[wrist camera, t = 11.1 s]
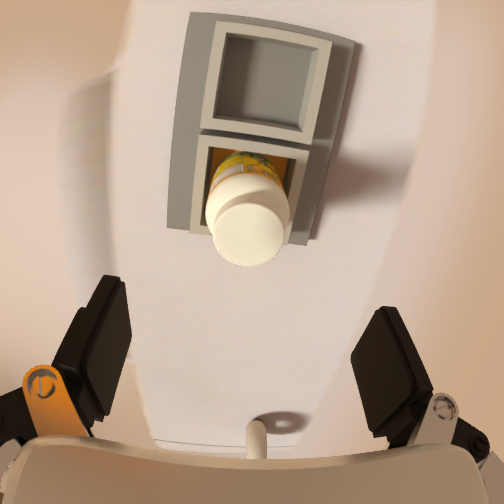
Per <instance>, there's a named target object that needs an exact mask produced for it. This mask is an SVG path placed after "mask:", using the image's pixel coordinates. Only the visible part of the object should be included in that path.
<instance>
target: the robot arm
mask: <svg viewBox="0 0 504 504" xmlns="http://www.w3.org/2000/svg"><path fill="white" fill-rule="evenodd" d="M131 338H132V331H131V325H130V318H129V311H128V304H127V296H126V288H125V283H124V282H122V281H121V280H120V277H117V276H110V275H103V277H102V278H101V280H100V282H99V284H98V286H97V288H96V289H95V291H94V293H93V295H92V297H91V299H90V301H89V303H88V304H87V306H86V308H85V307H81V308H79V310H78V311H77V313H76V315H75V317H74V319H73V321H72V323H71V325H70V327H69V329H68V331H67V333H66V335H65V337H64V339H63V341H62V343H61V345H60V347H59V349H58V351H57V353H56V356H55V358H54V360H53V362H52V364H51V366H49V365H38V366H35V367H33V368H31V369H30V370H29V371H28V372H27V373H26V375H25V377H24V379H23V384H22V386H23V387H20V388H18V389H16V390H14V391H11V392H9V393H7V394H4V395H3V396H0V482H1V477H2V475H3V474H4V473H5V472H6V471H7V470H8V467H7V466H8V465H9V464H10V463H11V462H12V461H14V463H13V466H12V468H11V471H10V474H9V477H8V480H7V483H6V487H5V492H3V490H2V488H1V483H0V504H504V463H503V462H502V461H501V460H500V459H499V458H498V456H497V455H496V454H495V453H494V452H493V451H491V452H489V449H490V445H489V441H488V438H487V437H486V435H485V434H484V433H482V432H481V431H479V430H478V429H476V428H475V427H473V426H471V425H470V424H469V423H467V422H465V421H464V420H462V419H461V418H459V417H458V414H459V411H458V406H457V404H456V402H455V401H454V399H453V398H452V397H450V396H449V395H447V394H445V393H436V394H435V395H433V393H432V391H433V390H434V389H433V387H432V384H431V382H430V379H429V377H428V374H427V372H426V370H425V367H424V365H423V363H422V361H421V358H420V356H419V354H418V352H417V350H416V347H415V345H414V343H413V341H412V339H411V337H410V334H409V332H408V330H407V328H406V326H405V324H404V322H403V320H402V318H401V316H400V314H399V312H398V310H397V308H396V307H389V306H382V307H380V308H379V310H376V311H375V313H374V315H373V317H372V318H371V320H370V322H369V324H368V326H367V327H366V329H365V331H364V333H363V335H362V336H361V338H360V340H359V342H358V343H357V345H356V347H355V349H354V350H353V352H352V354H351V364H352V367H353V371H354V374H355V378H356V381H357V385H358V389H359V393H360V396H361V400H362V404H363V408H364V412H365V416H366V420H367V424H368V428H369V430H370V431H371V432H373V437H374V438H377V437H384V436H386V437H387V442H386V444H385V446H384V448H383V450H381V451H374V452H367V453H360V454H352V455H343V456H333V457H320V458H304V459H240V458H222V457H209V456H200V455H191V454H182V453H175V452H169V451H162V450H156V449H150V448H143V447H138V446H133V445H128V444H123V443H118V442H114V441H108V440H103V439H98V438H95V436H94V434H93V432H92V430H91V427H92V426H93V424H94V420H96V421H100V422H103V419H104V415H106V416H108V415H109V414H110V410H111V406H112V403H113V399H114V396H115V392H116V389H117V385H118V382H119V378H120V375H121V371H122V368H123V365H124V362H125V358H126V355H127V352H128V349H129V346H130V342H131Z"/></svg>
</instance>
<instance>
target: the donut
mask: <svg viewBox="0 0 504 504" xmlns="http://www.w3.org/2000/svg"><path fill="white" fill-rule="evenodd" d="M246 459H267V434H266V427H265V425H264V424H263V423H262V422H261V421H257V420H255V421H251V422H250V423H249V424H248V425H247V427H246Z"/></svg>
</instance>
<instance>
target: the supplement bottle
mask: <svg viewBox="0 0 504 504" xmlns="http://www.w3.org/2000/svg"><path fill="white" fill-rule="evenodd" d="M205 215H206V222H207V225H208V228H209V230H210V232H211V233H212V235H213V240H214V244H215V246H216V248H217V250H218V252H219V253H220V254H221V255H222V256H223V257H224V258H225V259H227V260H228V261H230V262H232V263H234V264H237V265H242V266H255V265H260V264H263V263H265V262H267V261H269V260H270V259H272V258H273V257H274V256H275V255H276V254H277V253H278V252H279V251H280V249H281V247H282V245H283V243H284V238H285V230H286V228H287V225H288V222H289V216H290V210H289V204H288V200H287V197H286V194H285V192H284V189H283V186H282V184H281V181H280V179H279V176H278V173H277V171H276V169H275V167H274V165H273V164H272V163H271V162H270V161H269V160H268V159H267V158H265V157H264V156H262V155H259V154H257V153H254V152H248V151H242V152H237V153H234V154H232V155H230V156H228V157H226V158H225V159H224V160H223V161H222V162H221V163H220V164H219V166H218V167H217V169H216V171H215V174H214V177H213V180H212V184H211V188H210V192H209V196H208V199H207V204H206V211H205Z"/></svg>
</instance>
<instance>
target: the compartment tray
mask: <svg viewBox="0 0 504 504" xmlns="http://www.w3.org/2000/svg"><path fill="white" fill-rule="evenodd" d="M354 46H355V41H353V40H350V39H346V38H343V37H340V36H336V35H333V34H329V33H325V32H321V31H318V30H314V29H309V28H305V27H301V26H296V25H292V24H287V23H281V22H276V21H270V20H264V19H258V18H251V17H244V16H235V15H226V14H214V13H198V12H190V16H189V21H188V26H187V32H186V38H185V43H184V49H183V56H182V62H181V69H180V76H179V83H178V91H177V99H176V107H175V116H174V125H173V136H172V147H171V159H170V172H169V188H168V207H167V228H173V229H181V230H189V231H190V233H194V234H202V235H210V236H213V235H212V233H211V232H210V230H209V228H208V225H207V222H206V215H205V211H206V204H207V199H208V196H209V192H210V188H211V184H212V180H213V177H214V174H215V171H216V169H217V167H218V166H219V164H220V163H221V162H222V161H223V160H224V159H225V158H226V157H228V156H230V155H232V154H234V153H237V152H242V151H248V152H254V153H257V154H259V155H262V156H264V157H265V158H267V159H268V160H269V161H270V162H271V163H272V164H273V165H274V167H275V169H276V171H277V173H278V176H279V179H280V181H281V184H282V186H283V189H284V192H285V194H286V197H287V200H288V204H289V210H290V216H289V222H288V225H287V228H286V230H285V238H284V243H283V245H287V244H288V243H289V244H297V245H304V246H307V242H308V239H309V235H310V232H311V228H312V225H313V221H314V217H315V214H316V210H317V206H318V202H319V199H320V195H321V191H322V187H323V183H324V180H325V176H326V172H327V168H328V164H329V160H330V156H331V152H332V147H333V143H334V139H335V135H336V131H337V126H338V122H339V118H340V113H341V109H342V104H343V100H344V95H345V90H346V86H347V81H348V76H349V71H350V66H351V61H352V56H353V51H354Z"/></svg>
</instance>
